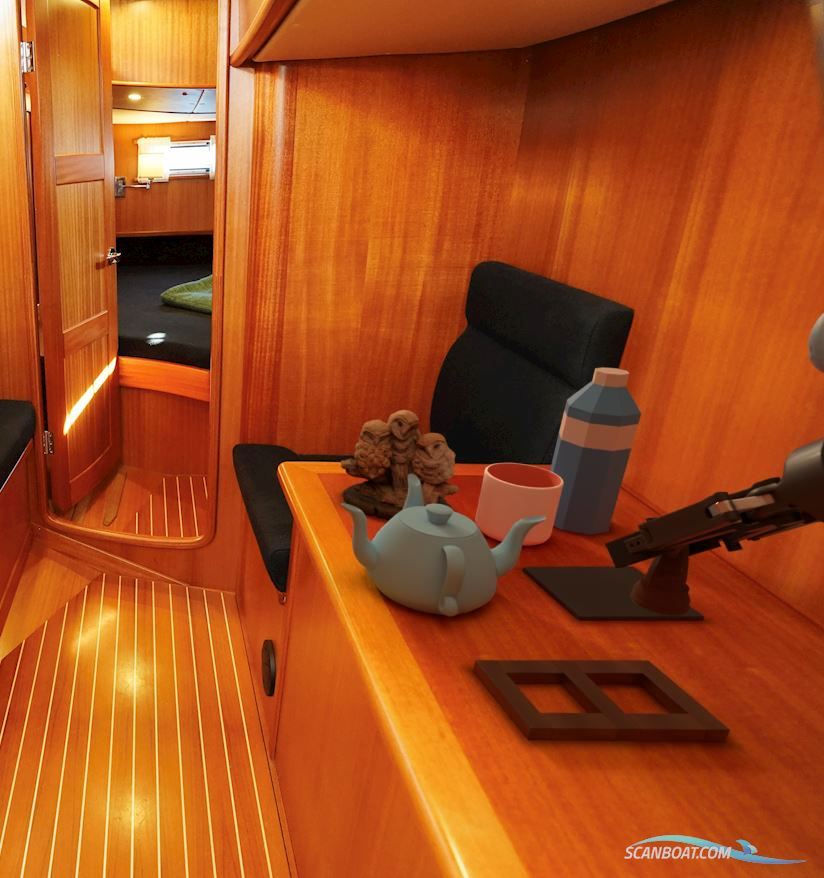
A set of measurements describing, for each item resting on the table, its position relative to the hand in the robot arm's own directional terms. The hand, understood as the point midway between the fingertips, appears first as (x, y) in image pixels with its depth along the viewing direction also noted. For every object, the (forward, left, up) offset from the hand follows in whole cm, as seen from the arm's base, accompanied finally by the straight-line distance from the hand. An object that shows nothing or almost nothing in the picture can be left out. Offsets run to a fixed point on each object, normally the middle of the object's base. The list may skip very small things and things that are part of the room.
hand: (635, 553), depth 74 cm
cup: (-8, -32, -15) cm, 37 cm away
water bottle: (-20, -36, -15) cm, 44 cm away
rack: (+5, +6, -15) cm, 17 cm away
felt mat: (-11, -15, -15) cm, 24 cm away
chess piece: (-1, +4, -4) cm, 5 cm away
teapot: (+11, -18, -15) cm, 26 cm away
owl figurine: (+6, -42, -15) cm, 45 cm away
